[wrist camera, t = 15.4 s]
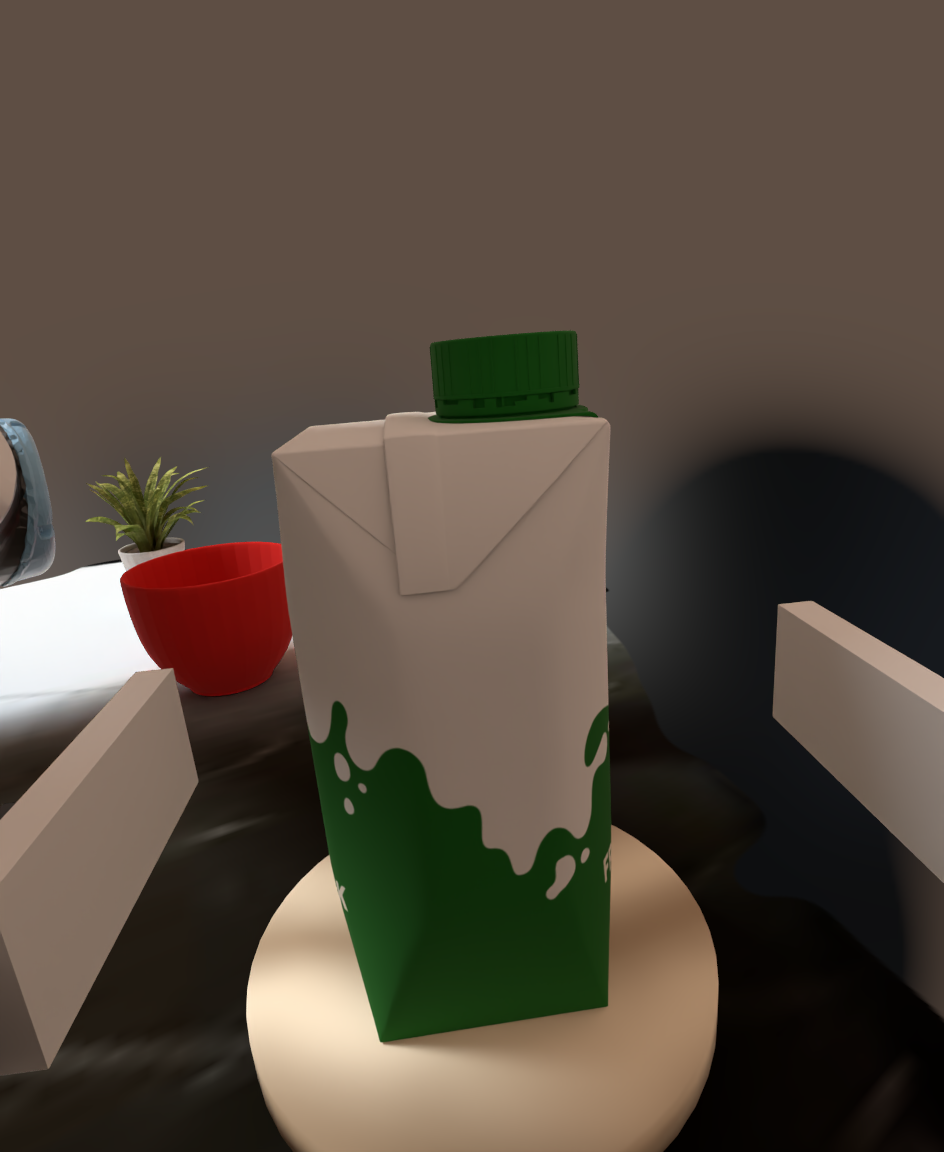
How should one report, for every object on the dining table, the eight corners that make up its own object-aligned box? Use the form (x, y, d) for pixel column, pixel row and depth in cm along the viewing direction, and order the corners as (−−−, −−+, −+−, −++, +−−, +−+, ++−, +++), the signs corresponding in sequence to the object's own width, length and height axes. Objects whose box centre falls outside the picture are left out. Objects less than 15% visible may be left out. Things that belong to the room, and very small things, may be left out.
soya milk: (647, 1030, 21) (642, 319, 15) (342, 1079, 20) (211, 354, 14) (574, 840, 29) (553, 337, 23) (357, 870, 28) (279, 359, 23)
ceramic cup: (266, 625, 70) (249, 527, 67) (336, 678, 56) (318, 559, 53) (126, 663, 63) (100, 557, 60) (167, 735, 49) (136, 602, 46)
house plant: (206, 614, 74) (174, 461, 69) (73, 627, 74) (32, 473, 69) (239, 575, 88) (215, 445, 83) (128, 586, 87) (97, 455, 82)
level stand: (304, 892, 33) (291, 820, 32) (634, 852, 34) (633, 781, 33) (208, 1342, 18) (177, 1237, 17) (813, 1251, 19) (823, 1144, 17)
